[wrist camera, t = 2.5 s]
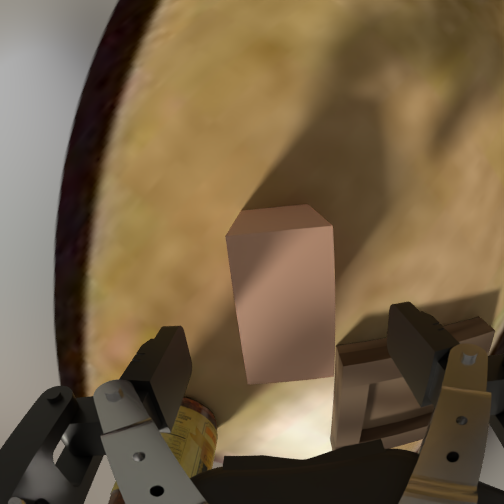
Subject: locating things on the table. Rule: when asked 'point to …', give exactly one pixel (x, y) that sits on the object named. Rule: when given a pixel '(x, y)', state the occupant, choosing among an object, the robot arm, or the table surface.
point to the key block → (284, 292)
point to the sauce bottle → (188, 441)
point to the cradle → (385, 391)
